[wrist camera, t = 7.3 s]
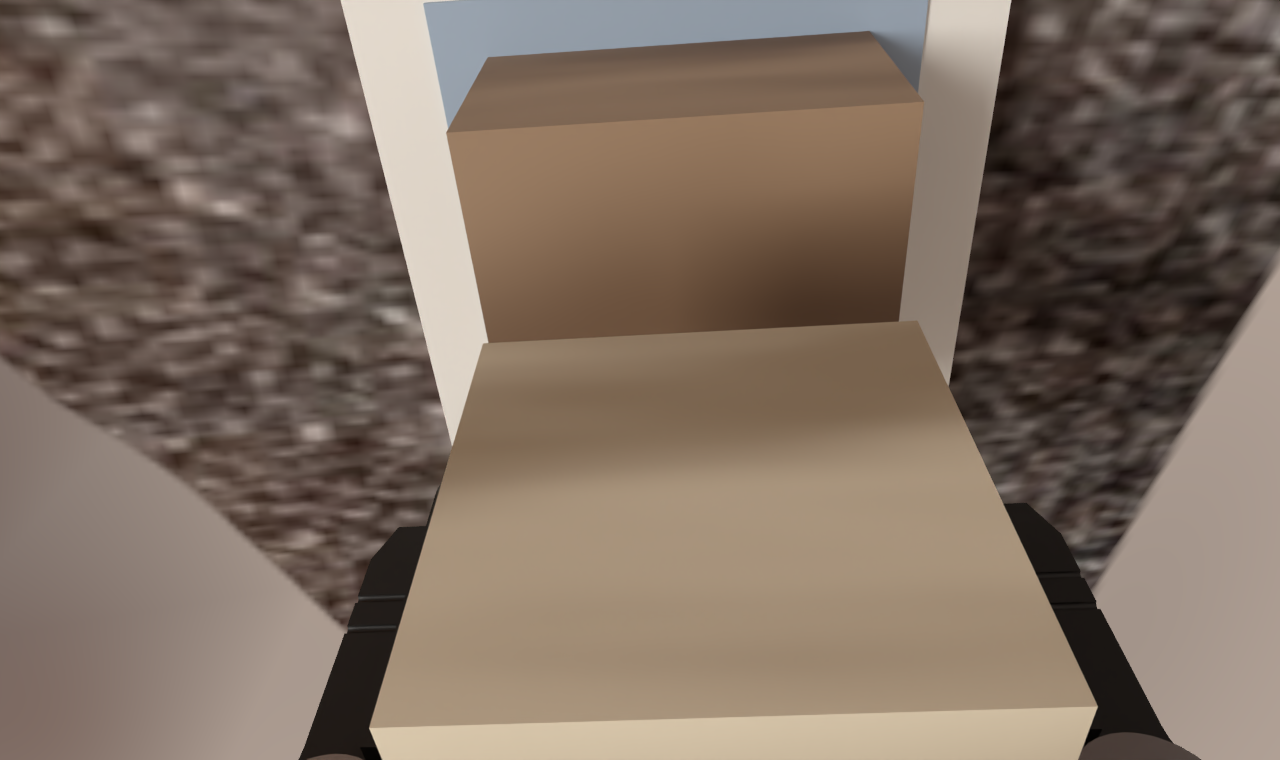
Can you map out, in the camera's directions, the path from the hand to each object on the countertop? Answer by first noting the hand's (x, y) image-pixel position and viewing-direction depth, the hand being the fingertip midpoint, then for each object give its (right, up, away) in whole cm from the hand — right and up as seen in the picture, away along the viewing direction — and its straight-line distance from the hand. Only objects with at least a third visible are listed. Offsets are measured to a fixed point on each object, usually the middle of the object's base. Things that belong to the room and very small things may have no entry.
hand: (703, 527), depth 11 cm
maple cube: (0, 0, +1) cm, 1 cm away
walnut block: (0, +5, +7) cm, 9 cm away
